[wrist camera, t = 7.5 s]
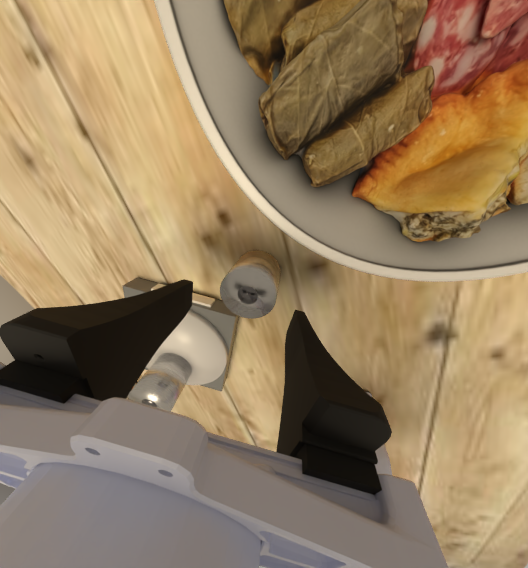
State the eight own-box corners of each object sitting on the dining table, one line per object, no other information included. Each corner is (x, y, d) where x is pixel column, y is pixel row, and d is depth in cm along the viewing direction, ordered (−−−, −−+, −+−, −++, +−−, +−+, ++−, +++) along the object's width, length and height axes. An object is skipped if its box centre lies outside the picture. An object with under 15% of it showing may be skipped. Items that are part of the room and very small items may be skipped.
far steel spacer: (191, 357, 21) (167, 396, 17) (193, 381, 23) (172, 420, 19) (155, 349, 22) (123, 385, 18) (160, 373, 24) (133, 411, 20)
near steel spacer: (285, 257, 17) (282, 278, 13) (274, 296, 19) (268, 324, 15) (239, 245, 17) (223, 262, 13) (233, 285, 19) (217, 310, 15)
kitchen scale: (241, 302, 20) (234, 318, 18) (226, 377, 27) (219, 397, 24) (136, 273, 20) (115, 285, 18) (147, 355, 27) (132, 372, 24)
